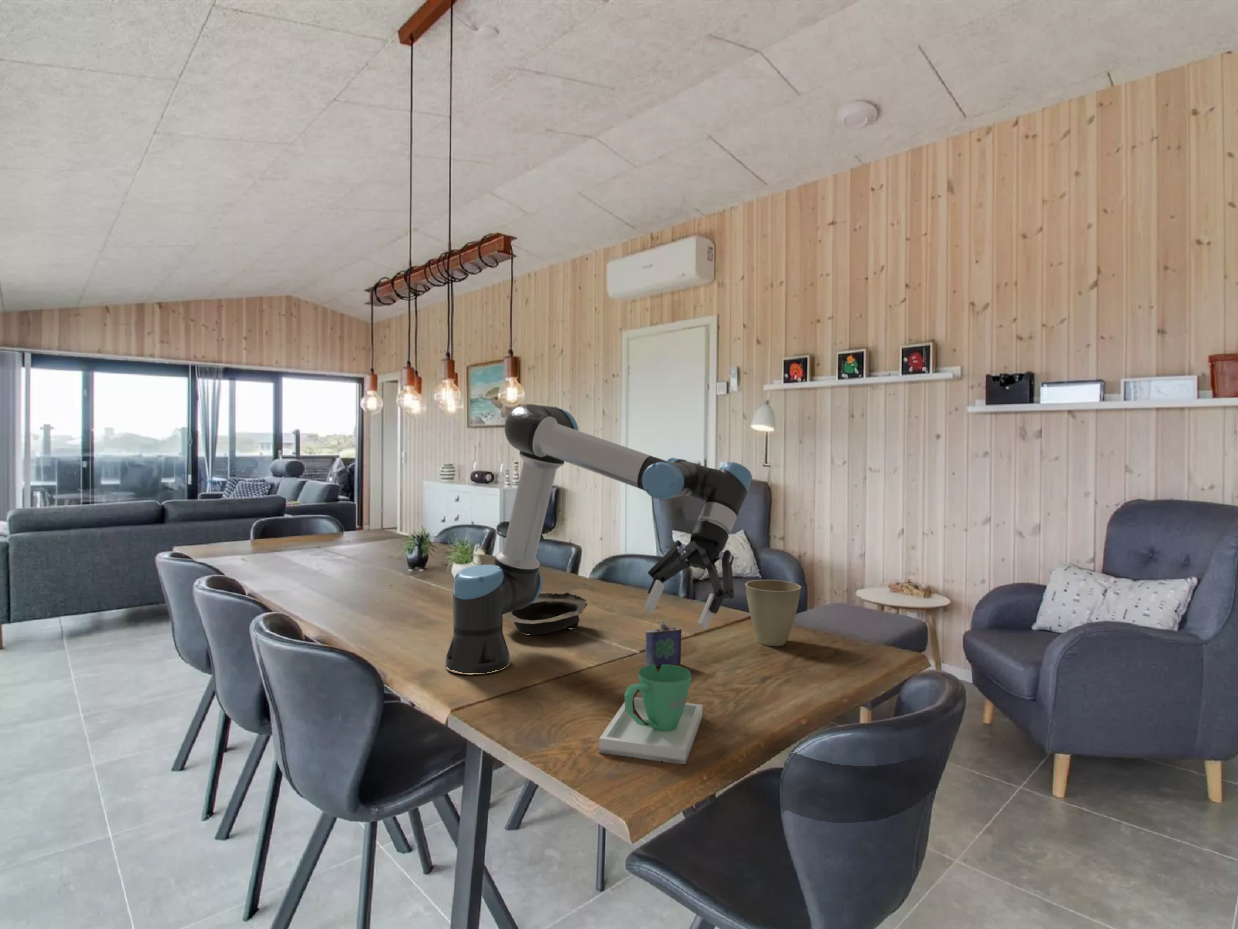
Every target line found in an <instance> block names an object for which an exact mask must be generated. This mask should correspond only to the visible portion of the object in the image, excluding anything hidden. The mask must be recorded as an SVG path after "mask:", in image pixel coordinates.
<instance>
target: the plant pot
mask: <svg viewBox="0 0 1238 929" xmlns="http://www.w3.org/2000/svg"><path fill="white" fill-rule="evenodd" d="M744 586H745V593H746V599H747V600H746V601H747V606H748V611H749V614H750V618H751V623H752V626H753V629H754V633H755V635H756V638H757V640H758V643H759V644H761V645H763V646H771V647H781V646H784V644H785V645H786V643H787V641H788V639H789V636H790V633H791V632H792V628H793V625H794V622H795V619H796V615H797V611H798V607H799V602H800V595H801V589H802V586H801V585H799V583H794V582H791V581H785V580H776V579H755V580H749V581H747V582H745V584H744Z"/></svg>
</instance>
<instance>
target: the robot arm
mask: <svg viewBox="0 0 1238 929" xmlns="http://www.w3.org/2000/svg"><path fill="white" fill-rule="evenodd" d="M504 434H505V437H506V439H507V441H508V443H509V445H511V446H512V447H513V449H516V450H518V451H519V454H518V455H519V457H520V458H521V459H522V467H521V471H520V475H519V480H518V484H517V489H516V493H515V496H514V497H515V498H514V502H513V506H512V510H511V514H510V519H509V524H508V528H507V532H506V536H505V542H504V546H503V549H502V550H501V551H499V552H498V553H496V555H495V559H494V563H493V564H478V565H473V566H468V567H465V568H463V569H461V570H459V571H458V572H456V574H455V575H454V579H453V580H454V581H453V587H452V594H453V598H452V599H453V602H452V603H453V604H452V605H453V607H452V608H453V635H452V639H451V641H450V644H449V647H448V650H447V653H446V656H445V668H446V667H448V668H449V669H450V670H455V671H458V672H462V673H487V672H492V671H495V670H500V669H502V668H504V667H506V666H507V665H508V664H509V662H510V658H511V656H510V651H509V649H508V644H507V643H506V639H505V636H504V633H503V628H504V627H503V624H504V623H503V620H504V616H503V614H506V613H509V612H511V611H514V610H517V609H522V608H524V607H526V606H528V605H529V604H531V603H532V602H534V601H535V600H536V599H537V597H538V596H539V594H540V593H541V592H542V590H543V584H544V583H543V581H544V580H543V576H542V575H541V571H540V565H541V562H540V561H539V560H538V559H537V553H538V549H539V544H540V540H541V537H542V536H541V535H542V532H543V528H544V523H545V519H546V515H547V510H548V507H549V503H550V498H551V493H552V489H553V485H554V482H555V478H556V477H555V476H556V473H557V470H558V469H559V468H560V467H562V466H563V465H564V464H565V463H568V464H571V465H573V466H576V467H578V468H579V467H580V468H582V469H585V470H587V471H591V472H593V473H596V474H598V475H601V476H604V477H605V478H609V479H613V480H615V481H618V482H619V483H620V482H621V483H623V484H626V485H629V486H631V487H635V488H637V489H640V490H642V491H643V492H645V493H646V494H648V496H650V497H651V498H654V499H657V500H664V501H665V500H671V499H673V498H674V499H675V498H679V497H685V496H687V497H691V498H695V499H697V500H700V501H704V502H705V503H704V504H703V507H702V509H701V511H700V514H699V516H698V518H697V522H696V523H695V525H694V527H693V530H692V532H691V535H690V539H689V542H688V543H687V544H686V543H682V542H681V541H680V540H679V539H677V540H675V542H674V544H673V546H672V547H671V548H670V550H668V552H666V553H665V554H664V555H663V556H662V558H661V559H659V560H658V561H657V562H656V563H655V564H654V565H653V566H652V567H651V568H650V569H649V570H648V572H647V574H648V575H649V576H650V577H651V578H652V582H651V584H650V587H649V588H648V591H647V593H648V594H649V595H648V597H647V599H646V601H645V604H644V605H643V609H645V610H646V611H647V612H649V613H650V614H654V611H655V609H656V607H657V604H658V603H659V601H660V600H659V599H660V598H661V596H662V594H663V591H664V589H665V587H666V585H665V584H664V583H665V582H667V581H668V580H670V579H671V578H673V577H674V576H676V575H678V574H679V573H680V572H682V571H683V570H685V569H689V568H690V567H692V568H695V569H696V568H697V569H698V568H699V569H701V570H703V571H705V570H706V571H707V573H708V577H709V581H710V583H711V587H712V589H713V593H711V592H710V593H709V595H708V597H707V600H706V602H705V605H704V607H703V609H702V612H701V614H700V616H699V619H698V621H697V624H698V625H699V626H700V627H701V628H702V629H703V630H706V631H707V630H708V627H709V626H710V623H711V621H712V618H713V615H716V614H717V613H718V612H719V609H720V607H721V604H722V603H723V601H724V600H725V599H730V600H732V599H733V598H734V597H735V591H734V577H733V575H734V574H733V563H734V559H735V556H734V555H733V554H732V552H731V551H730V550H728V549H726V550H724V549H725V548H726V546H727V542H728V540H729V538H730V536H729V535H730V534H731V533H732V530H733V527H734V525H735V523H736V521H737V518H738V516H739V513H740V510H741V509H742V506H743V504H744V502H745V499H746V497H747V496H748V494H749V489H750V487H751V484H752V480H753V476H752V473H751V471H750V470H749V469H748V468H747V467H746V466H745V465H742V464H740V463H738V462H733V461H731V462H730V461H728V462H727V461H726V462H724V463H723V464H722V465H721V467H719V469H717V468H713V467H711V468H710V467H709V466H708V467H707V466H706V465H702V464H698V463H694V462H693V461H688V460H687V459H681V458H676V457H669V458H668V459H667V460H665V459H662V458H659V457H656V456H653V455H650V454H647V453H644V452H642V451H638V450H636V449H632V448H629V447H627V446H624V445H620V444H618V443H616V442H613V441H609V440H608V439H607V440H606V439H603V438H601V437H597V436H594V435H591V434H589V433H587V432H583V431H581V430H580V431H579V427H578V424H577V421H576V419H575V418H574V416H573V415H572V414H571V412H569V411H567V410H565V409H563V408H559V407H557V406H549V405H538V404H535V403H534V404H532V403H526V404H522V405H519V406H517V407H515V408H514V409H513V410H511V411H510V412H509V414H508V415H507V417H506V419H505V422H504ZM720 560H721V571H722V572H721V573H722V583H721V580H720V577H719V574H718V569H717V567H716V563H717V562H718V561H720ZM510 663H511V662H510ZM509 665H510V664H509Z"/></svg>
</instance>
